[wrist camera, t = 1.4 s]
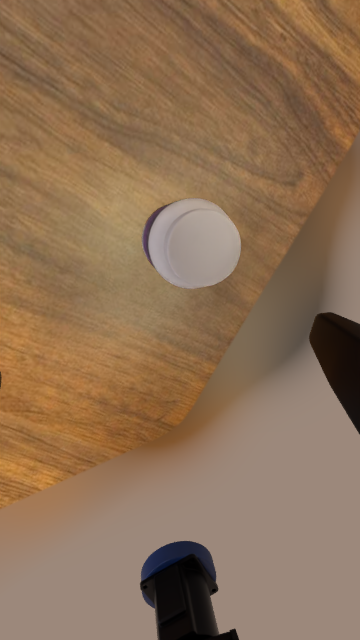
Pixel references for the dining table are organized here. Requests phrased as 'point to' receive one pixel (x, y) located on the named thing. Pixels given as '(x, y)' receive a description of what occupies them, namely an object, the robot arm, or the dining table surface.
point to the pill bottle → (191, 243)
